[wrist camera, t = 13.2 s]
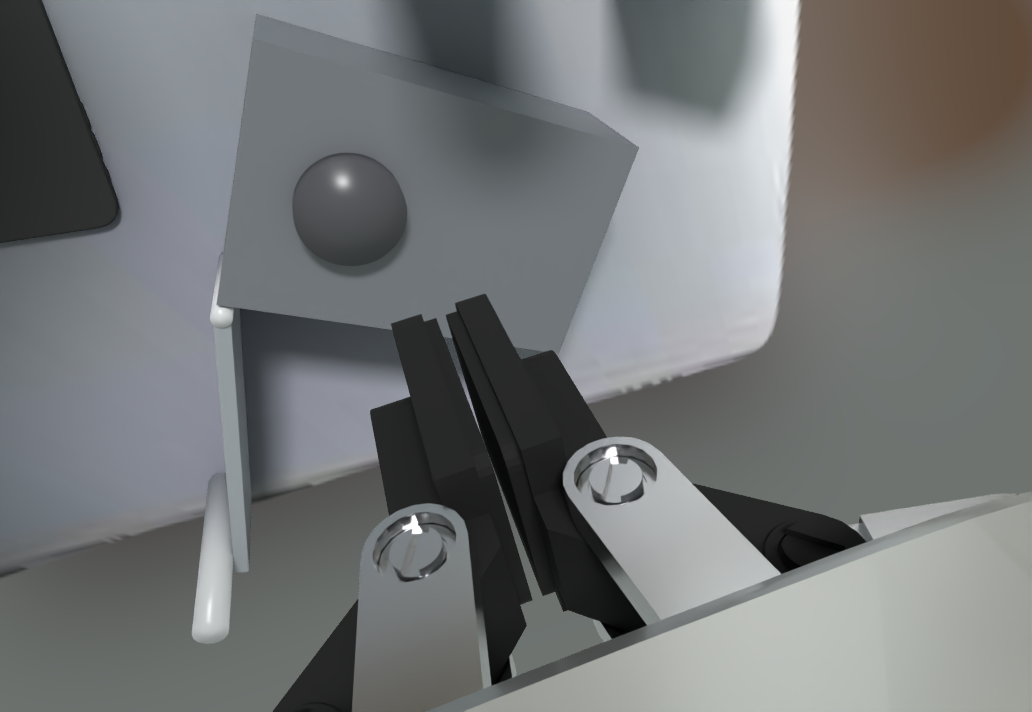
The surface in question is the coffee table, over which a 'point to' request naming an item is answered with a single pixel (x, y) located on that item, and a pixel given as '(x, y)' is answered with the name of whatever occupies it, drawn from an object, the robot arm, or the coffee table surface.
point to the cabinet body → (411, 191)
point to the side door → (225, 485)
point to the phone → (45, 136)
